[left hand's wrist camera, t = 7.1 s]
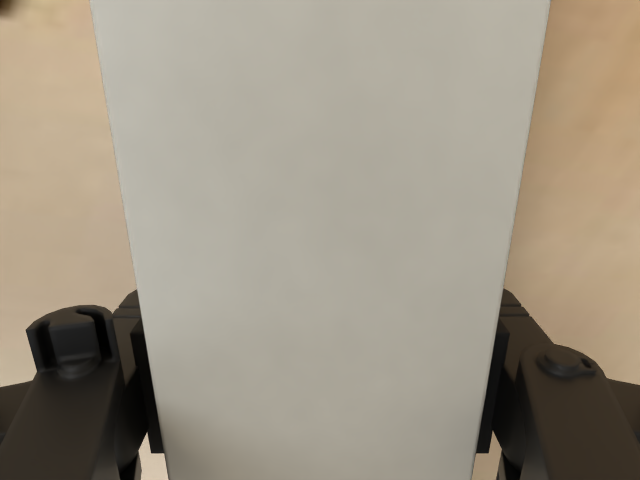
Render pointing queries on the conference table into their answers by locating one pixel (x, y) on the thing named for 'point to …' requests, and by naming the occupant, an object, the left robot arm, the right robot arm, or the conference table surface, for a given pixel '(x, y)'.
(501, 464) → the left robot arm
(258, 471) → the bar
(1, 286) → the conference table surface
